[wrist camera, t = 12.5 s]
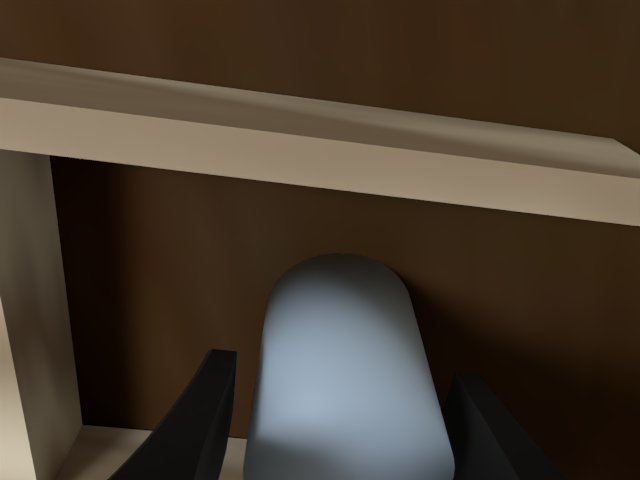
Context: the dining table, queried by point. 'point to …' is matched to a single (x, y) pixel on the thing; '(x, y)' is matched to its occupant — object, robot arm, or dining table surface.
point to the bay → (242, 162)
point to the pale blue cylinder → (344, 380)
